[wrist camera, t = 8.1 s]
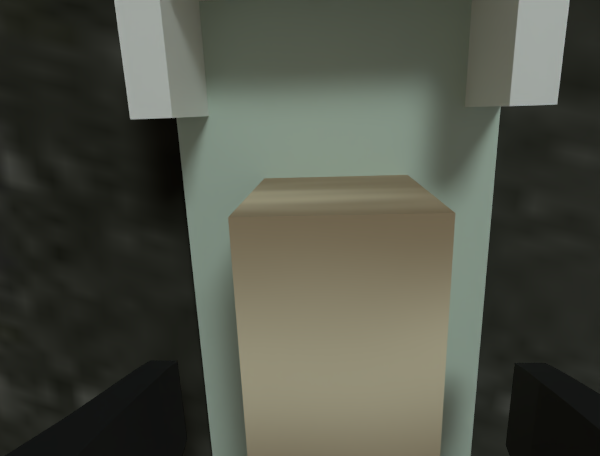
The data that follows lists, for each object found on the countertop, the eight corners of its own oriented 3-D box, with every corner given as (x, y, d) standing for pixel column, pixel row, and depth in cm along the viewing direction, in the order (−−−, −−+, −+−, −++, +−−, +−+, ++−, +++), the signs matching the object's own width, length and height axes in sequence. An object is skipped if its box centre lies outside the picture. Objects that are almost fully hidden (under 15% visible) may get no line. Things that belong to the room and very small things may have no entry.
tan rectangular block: (395, 553, 13) (422, 730, 10) (285, 549, 14) (268, 720, 10) (407, 174, 10) (455, 213, 6) (264, 178, 11) (228, 217, 7)
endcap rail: (454, 569, 14) (557, 943, 8) (228, 561, 15) (154, 904, 8) (505, -51, 9) (877, -385, 3) (167, -31, 10) (-118, -281, 4)
